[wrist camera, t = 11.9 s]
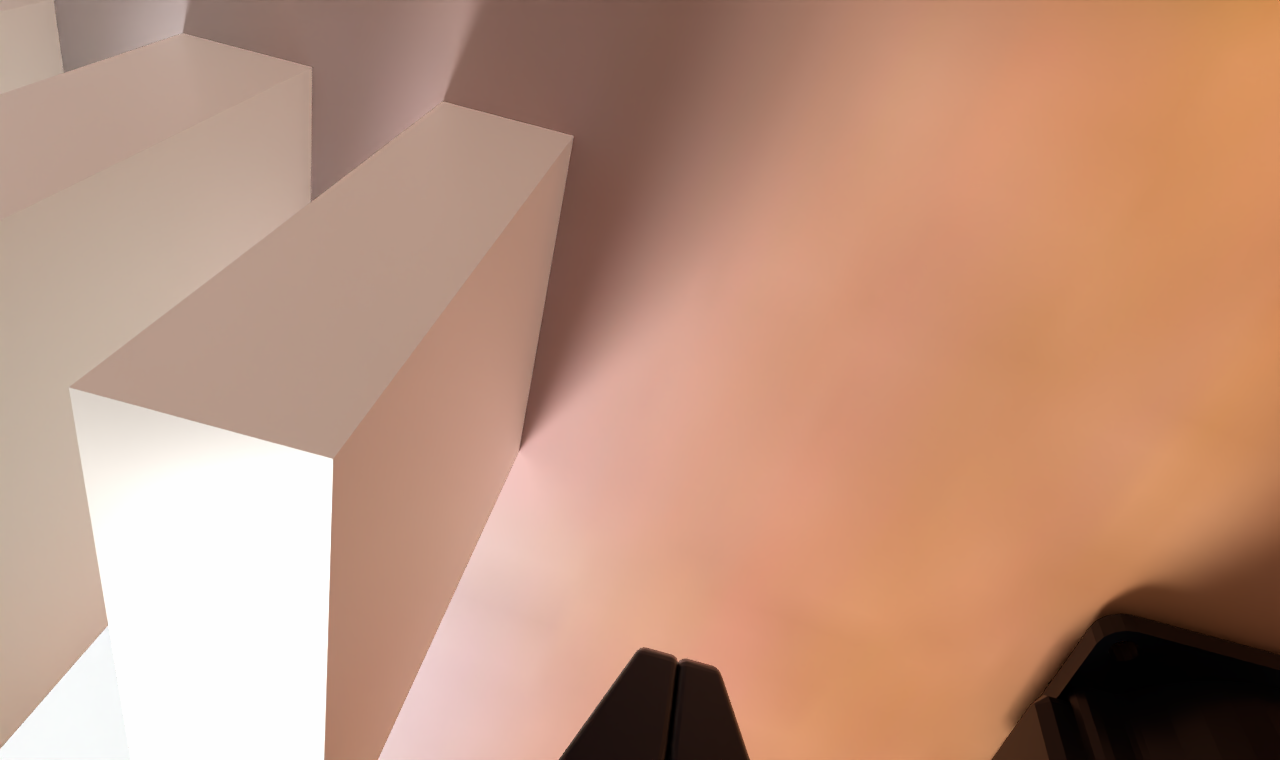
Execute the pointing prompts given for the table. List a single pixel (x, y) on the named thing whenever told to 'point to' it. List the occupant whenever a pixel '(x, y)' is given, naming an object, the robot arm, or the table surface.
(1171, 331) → the table surface
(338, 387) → the tile
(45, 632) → the tile
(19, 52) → the tile
